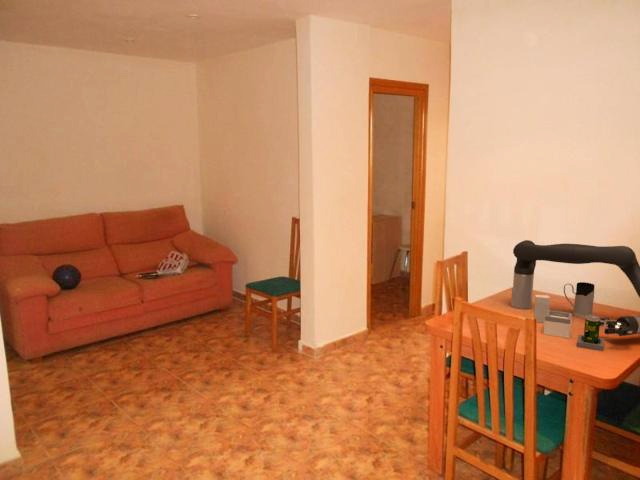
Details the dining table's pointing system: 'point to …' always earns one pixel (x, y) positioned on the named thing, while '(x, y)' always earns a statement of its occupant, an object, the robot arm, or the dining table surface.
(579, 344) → the table dock
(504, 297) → the dining table surface
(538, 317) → the skincare box
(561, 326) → the riser
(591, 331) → the beer can
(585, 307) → the grey container
